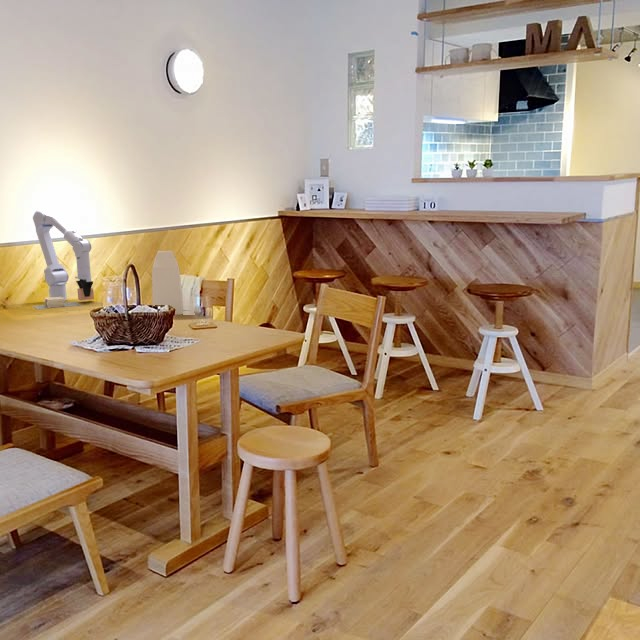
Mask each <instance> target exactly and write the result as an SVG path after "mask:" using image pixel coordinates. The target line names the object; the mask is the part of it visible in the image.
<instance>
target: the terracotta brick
mask: <svg viewBox="0 0 640 640" xmlns="http://www.w3.org/2000/svg"><path fill="white" fill-rule="evenodd" d="M76 289H77V290H76V291H77V300H79V301H88V300H94V299H95V295H94V294H95V293H94V287H91V292H90V296H89V297H85V295H84V291H83V288H79V287H78V288H76Z"/></svg>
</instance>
